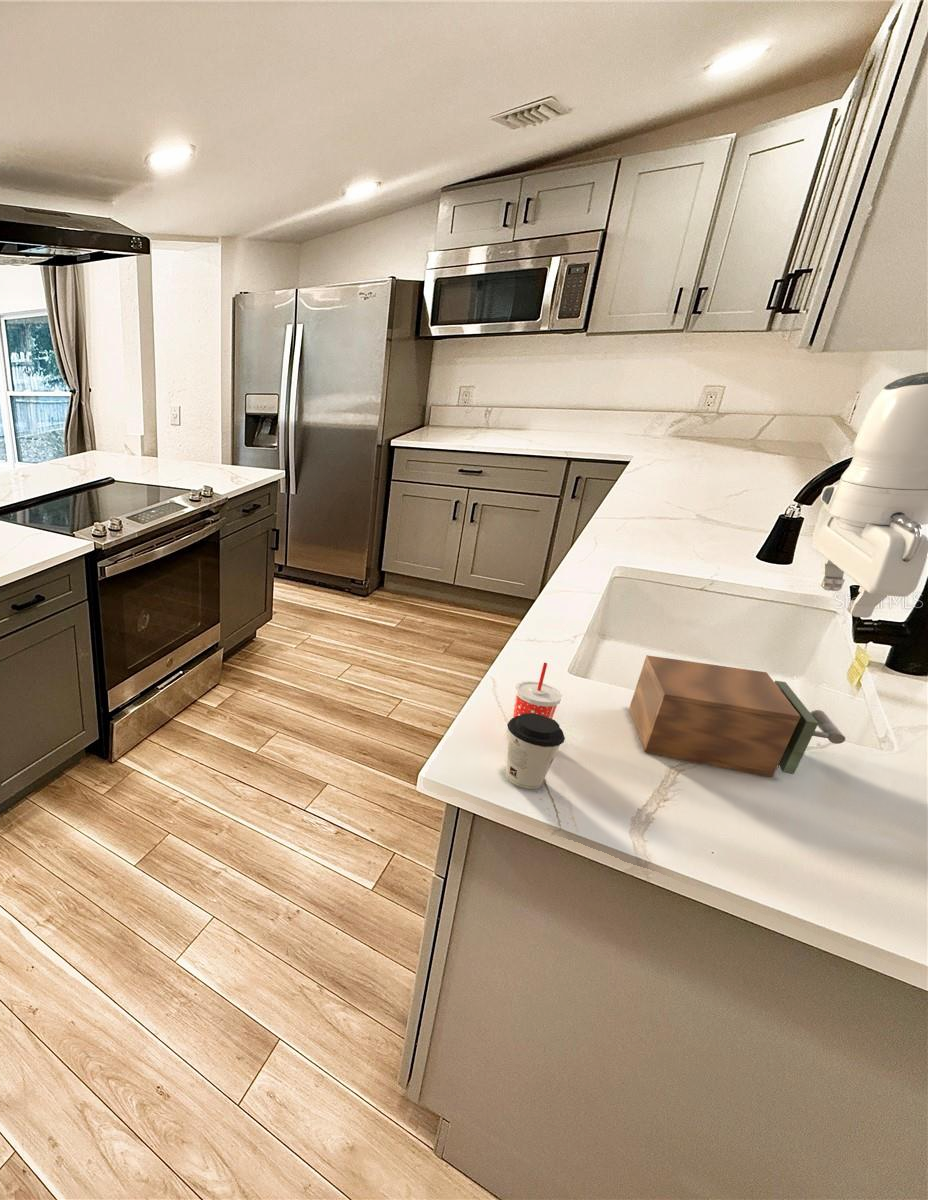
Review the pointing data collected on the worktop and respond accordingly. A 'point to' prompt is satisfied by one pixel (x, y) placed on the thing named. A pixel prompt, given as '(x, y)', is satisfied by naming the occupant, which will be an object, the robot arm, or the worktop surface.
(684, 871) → the worktop surface
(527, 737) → the coffee cup
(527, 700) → the beverage cup
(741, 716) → the cabinet
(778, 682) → the drawer
